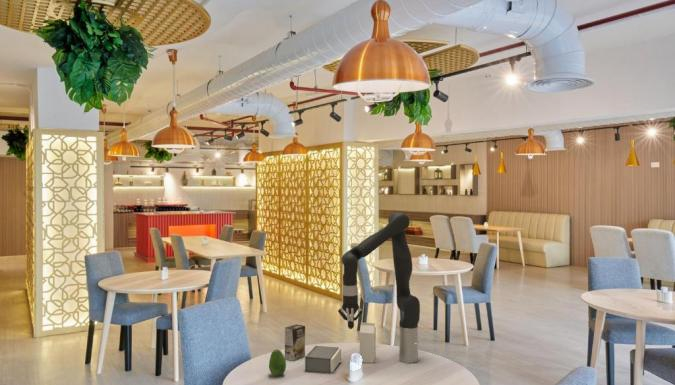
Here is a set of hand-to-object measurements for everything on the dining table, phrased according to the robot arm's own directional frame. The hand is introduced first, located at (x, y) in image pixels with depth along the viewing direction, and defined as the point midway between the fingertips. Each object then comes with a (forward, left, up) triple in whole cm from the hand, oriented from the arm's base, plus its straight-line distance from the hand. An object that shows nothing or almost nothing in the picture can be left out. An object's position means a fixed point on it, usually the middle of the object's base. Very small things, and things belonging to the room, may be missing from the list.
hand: (351, 328), depth 262 cm
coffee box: (+30, -3, -18) cm, 35 cm away
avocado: (+30, +23, -18) cm, 42 cm away
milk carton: (-7, -8, -18) cm, 21 cm away
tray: (+12, +6, -17) cm, 21 cm away
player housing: (+13, +6, -18) cm, 23 cm away
